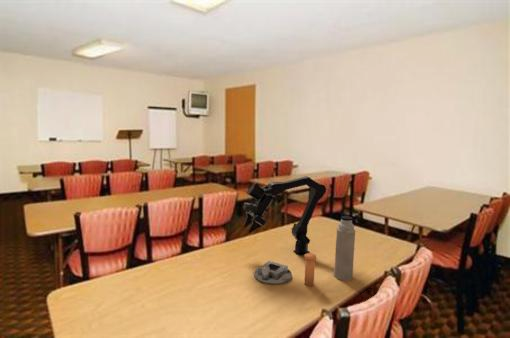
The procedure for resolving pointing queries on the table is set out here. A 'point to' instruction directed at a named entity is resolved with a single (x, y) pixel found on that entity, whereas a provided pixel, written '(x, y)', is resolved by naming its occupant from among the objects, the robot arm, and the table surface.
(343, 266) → the thermos bottle
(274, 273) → the grey peg hole base
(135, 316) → the table surface
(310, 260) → the wooden peg
